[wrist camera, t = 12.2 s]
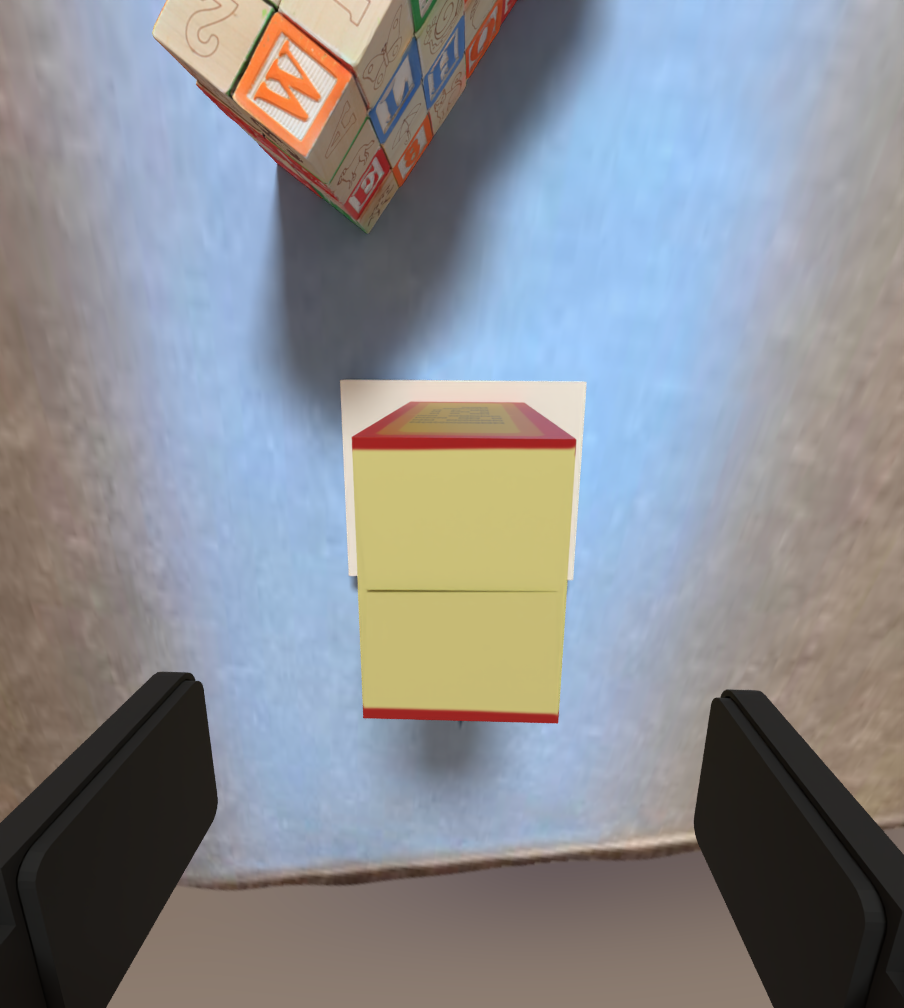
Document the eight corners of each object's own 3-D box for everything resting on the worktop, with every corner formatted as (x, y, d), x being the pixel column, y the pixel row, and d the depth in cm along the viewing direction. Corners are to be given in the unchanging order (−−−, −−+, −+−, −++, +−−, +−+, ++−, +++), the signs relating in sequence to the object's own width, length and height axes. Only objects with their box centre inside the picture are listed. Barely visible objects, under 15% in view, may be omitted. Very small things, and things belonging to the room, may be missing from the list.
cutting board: (581, 381, 32) (586, 382, 30) (568, 571, 35) (572, 580, 33) (346, 379, 32) (340, 380, 30) (354, 567, 35) (348, 575, 34)
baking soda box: (410, 401, 31) (348, 438, 15) (524, 402, 30) (578, 441, 15) (412, 556, 33) (361, 725, 18) (518, 558, 33) (559, 730, 17)
